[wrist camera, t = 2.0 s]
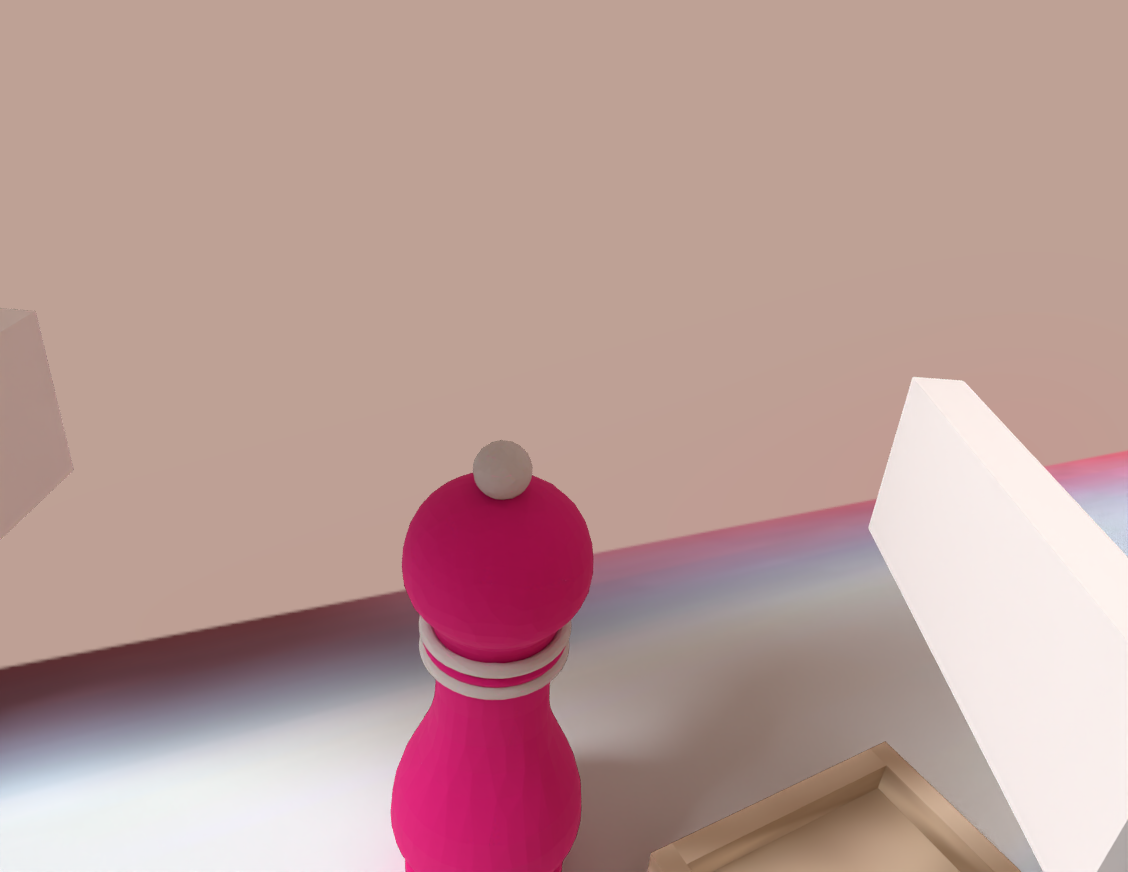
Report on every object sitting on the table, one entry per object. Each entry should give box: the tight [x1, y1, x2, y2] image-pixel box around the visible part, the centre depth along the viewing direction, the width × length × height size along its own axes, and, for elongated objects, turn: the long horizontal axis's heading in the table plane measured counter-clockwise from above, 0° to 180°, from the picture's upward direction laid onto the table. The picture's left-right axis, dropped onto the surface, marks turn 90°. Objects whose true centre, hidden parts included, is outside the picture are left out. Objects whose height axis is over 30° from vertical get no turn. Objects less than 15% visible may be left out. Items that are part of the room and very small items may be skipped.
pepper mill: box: [391, 440, 593, 872], centre depth 30 cm, size 7×7×20 cm
